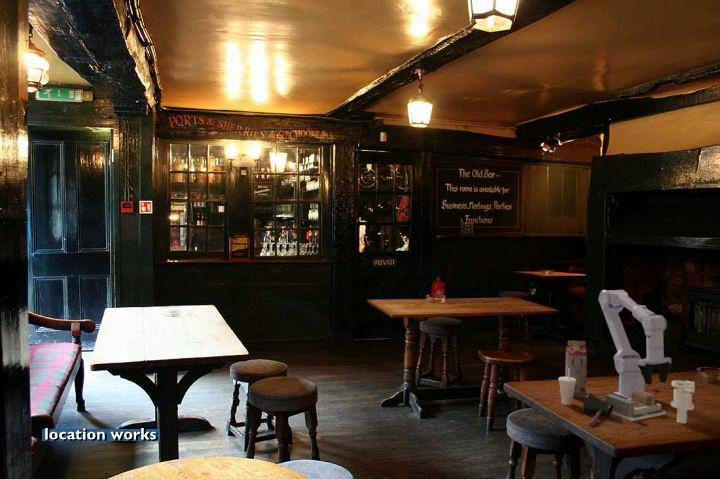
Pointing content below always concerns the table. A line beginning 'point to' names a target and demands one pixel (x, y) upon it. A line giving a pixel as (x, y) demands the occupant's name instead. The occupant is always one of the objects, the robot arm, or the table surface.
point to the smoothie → (567, 388)
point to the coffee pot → (596, 408)
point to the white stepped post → (683, 399)
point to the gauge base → (632, 409)
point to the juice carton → (577, 366)
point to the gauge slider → (643, 399)
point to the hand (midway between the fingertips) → (655, 383)
